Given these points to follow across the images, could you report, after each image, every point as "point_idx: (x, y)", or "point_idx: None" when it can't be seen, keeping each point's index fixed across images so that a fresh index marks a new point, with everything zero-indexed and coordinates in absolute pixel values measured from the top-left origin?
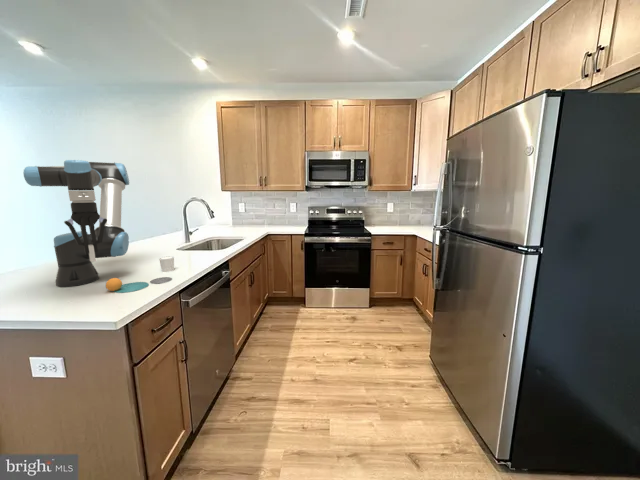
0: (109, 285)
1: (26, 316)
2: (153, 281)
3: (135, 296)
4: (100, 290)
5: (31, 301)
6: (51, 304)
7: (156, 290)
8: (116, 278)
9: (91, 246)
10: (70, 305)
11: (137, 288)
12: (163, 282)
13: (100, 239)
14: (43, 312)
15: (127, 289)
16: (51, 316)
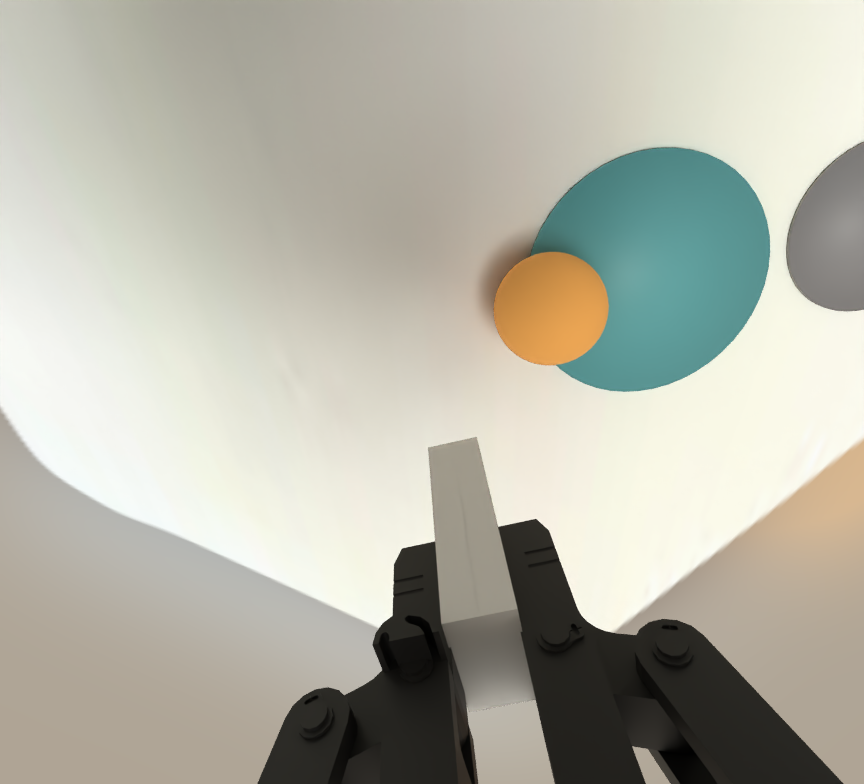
0: (520, 356)
1: (139, 494)
2: (817, 230)
3: (628, 488)
4: (443, 219)
5: (13, 207)
6: (191, 364)
7: (753, 449)
8: (587, 327)
9: (505, 687)
10: (310, 445)
11: (672, 350)
12: (858, 309)
13: (701, 776)
14: (202, 480)
15: (613, 334)
16: (264, 553)
